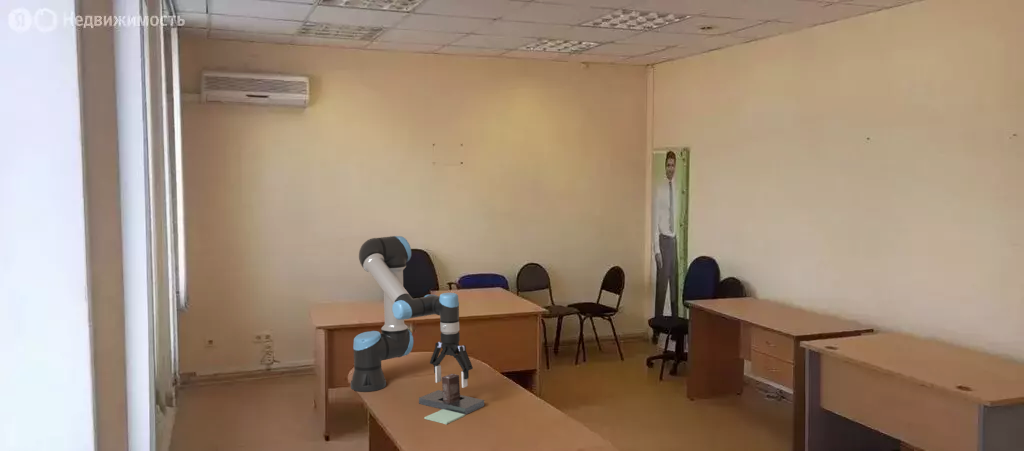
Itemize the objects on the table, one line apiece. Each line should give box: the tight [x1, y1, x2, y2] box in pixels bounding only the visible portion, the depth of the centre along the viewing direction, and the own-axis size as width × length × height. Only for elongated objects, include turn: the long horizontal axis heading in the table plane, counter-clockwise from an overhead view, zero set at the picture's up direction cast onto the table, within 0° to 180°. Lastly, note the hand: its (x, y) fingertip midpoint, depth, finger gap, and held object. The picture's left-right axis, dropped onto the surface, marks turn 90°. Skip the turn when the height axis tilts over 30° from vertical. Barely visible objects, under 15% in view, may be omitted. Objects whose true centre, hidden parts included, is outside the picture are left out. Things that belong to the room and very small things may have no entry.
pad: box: [423, 409, 466, 425], centre depth 286 cm, size 11×11×1 cm
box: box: [441, 373, 461, 403], centre depth 300 cm, size 6×4×12 cm
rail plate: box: [418, 389, 485, 416], centre depth 300 cm, size 24×12×2 cm, turn 55°
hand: (451, 384), depth 299 cm, fingers open, 13 cm apart
